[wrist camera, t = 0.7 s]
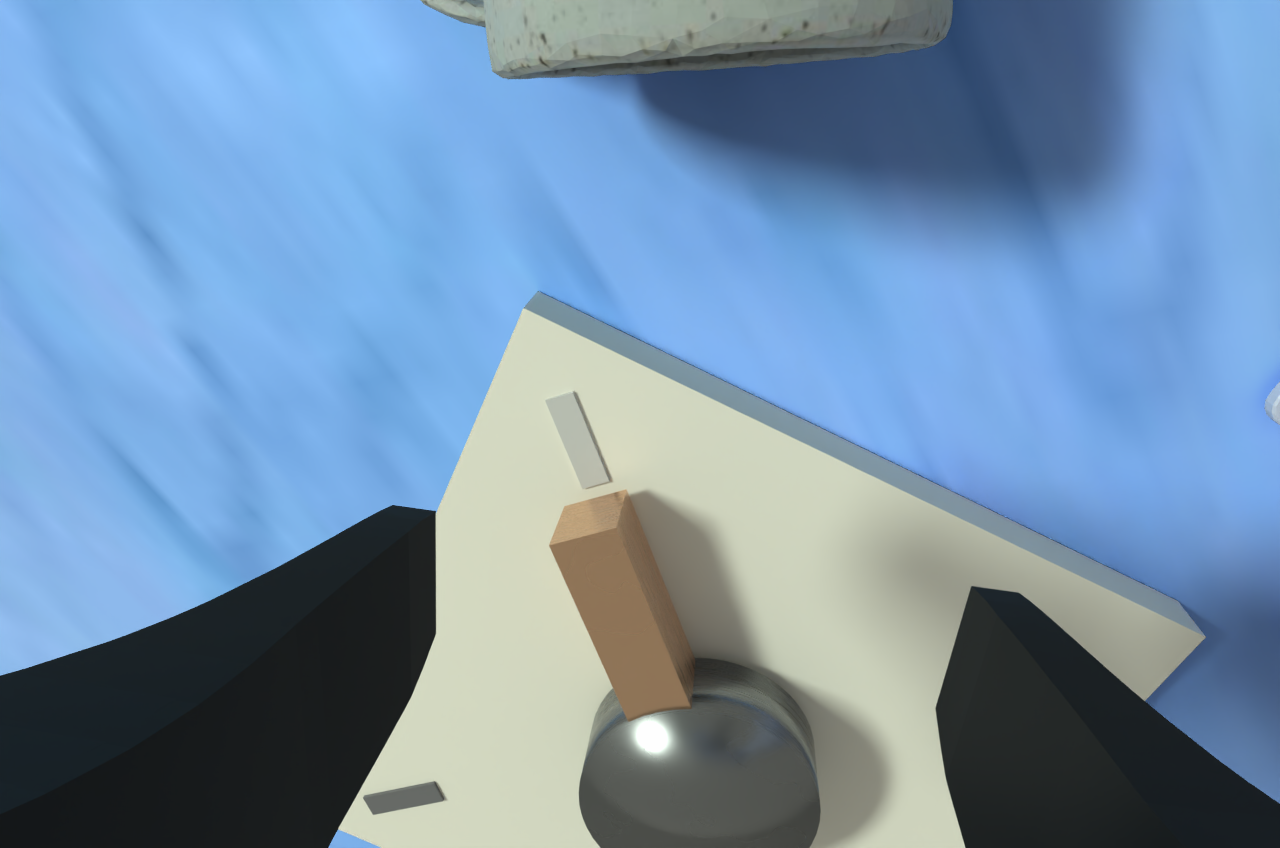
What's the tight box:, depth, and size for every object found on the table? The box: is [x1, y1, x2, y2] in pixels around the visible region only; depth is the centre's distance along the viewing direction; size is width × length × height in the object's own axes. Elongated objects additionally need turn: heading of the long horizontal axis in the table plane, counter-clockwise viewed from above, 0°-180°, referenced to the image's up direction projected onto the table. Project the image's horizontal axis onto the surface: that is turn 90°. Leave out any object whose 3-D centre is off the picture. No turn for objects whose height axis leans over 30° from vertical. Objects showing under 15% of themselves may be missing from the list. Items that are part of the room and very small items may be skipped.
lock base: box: [338, 291, 1206, 848], centre depth 24 cm, size 18×18×2 cm
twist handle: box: [549, 489, 821, 848], centre depth 22 cm, size 11×6×2 cm, turn 20°
